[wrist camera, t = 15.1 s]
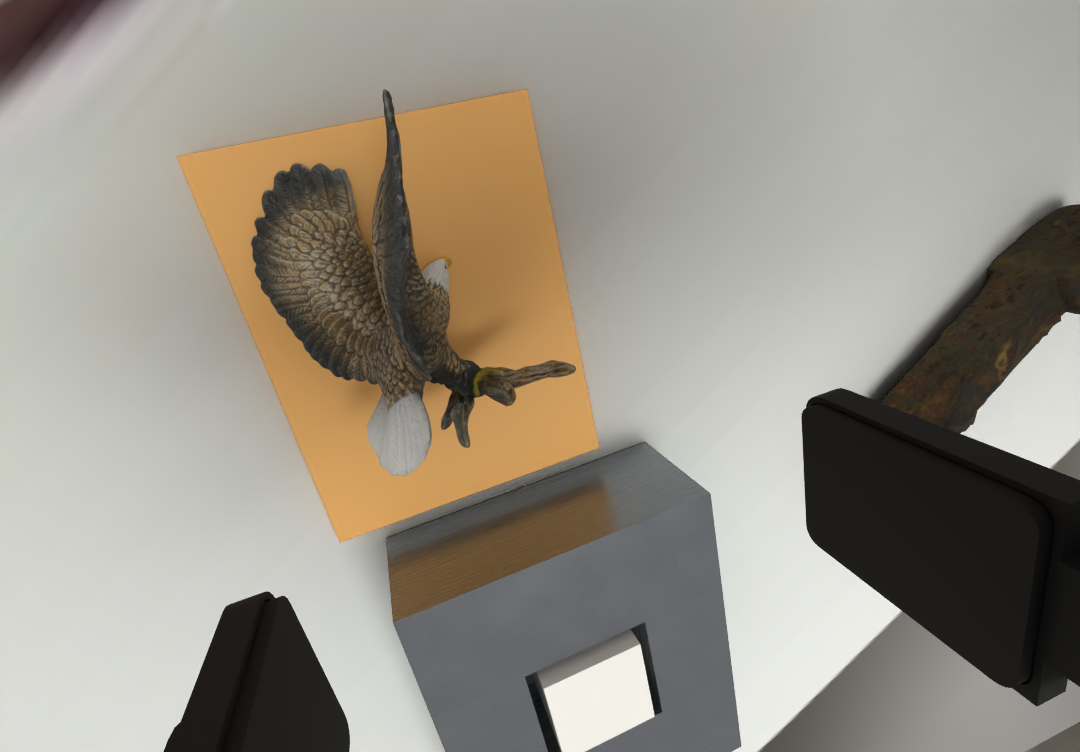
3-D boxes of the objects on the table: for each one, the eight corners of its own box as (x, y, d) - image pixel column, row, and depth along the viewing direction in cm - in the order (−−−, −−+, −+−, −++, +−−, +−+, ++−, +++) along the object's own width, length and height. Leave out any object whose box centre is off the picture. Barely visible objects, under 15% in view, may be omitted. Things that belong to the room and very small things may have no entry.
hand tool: (841, 487, 30) (920, 532, 26) (809, 446, 28) (889, 487, 24) (1066, 243, 30) (1182, 248, 26) (1049, 188, 29) (1168, 184, 24)
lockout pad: (520, 93, 19) (527, 88, 18) (592, 440, 24) (599, 447, 23) (184, 158, 16) (176, 156, 16) (340, 531, 21) (339, 542, 21)
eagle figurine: (580, 296, 20) (425, 51, 14) (576, 450, 14) (331, 154, 9) (419, 366, 23) (243, 183, 17) (367, 514, 17) (97, 317, 12)
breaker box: (645, 441, 25) (710, 493, 20) (682, 664, 29) (741, 746, 25) (385, 538, 22) (393, 622, 17) (473, 765, 27) (497, 878, 22)
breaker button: (597, 579, 24) (640, 644, 21) (612, 645, 26) (654, 716, 22) (514, 614, 23) (543, 689, 20) (534, 680, 25) (565, 761, 21)
